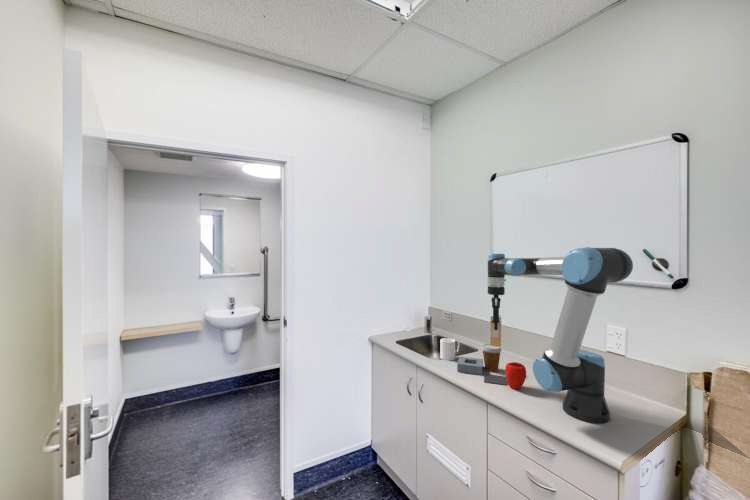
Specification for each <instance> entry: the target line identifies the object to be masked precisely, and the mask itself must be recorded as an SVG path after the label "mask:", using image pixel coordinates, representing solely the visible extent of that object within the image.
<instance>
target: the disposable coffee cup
mask: <svg viewBox="0 0 750 500" xmlns="http://www.w3.org/2000/svg"><path fill="white" fill-rule="evenodd" d="M481 349H482V354H483V365H484V370H486V371H487V372H491V373H494V372H498V371H499V365H500V358H501V353H502V352H501V351H502V346H501V347H497V346H490V343H485V344H482V347H481Z"/></svg>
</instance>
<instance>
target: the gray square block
mask: <svg viewBox="0 0 750 500" xmlns="http://www.w3.org/2000/svg"><path fill="white" fill-rule="evenodd" d="M458 358H459V359H458V361H457V362H456V363H457V364H456V366H457V368H456V370H457V372H458V373H465V374H472V375H477V376H478V375H480V376H482V375H483V372H484V371H483V370H484V358H476V357H468V356H467V357H466V356H459V357H458Z"/></svg>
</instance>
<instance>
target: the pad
mask: <svg viewBox="0 0 750 500" xmlns="http://www.w3.org/2000/svg"><path fill="white" fill-rule="evenodd" d="M483 383H485V384H493V385H501V386H506V387H507V386H508V382H507V379H506V375H499V374H498V375H496V374H490V373H484V377H483Z"/></svg>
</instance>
